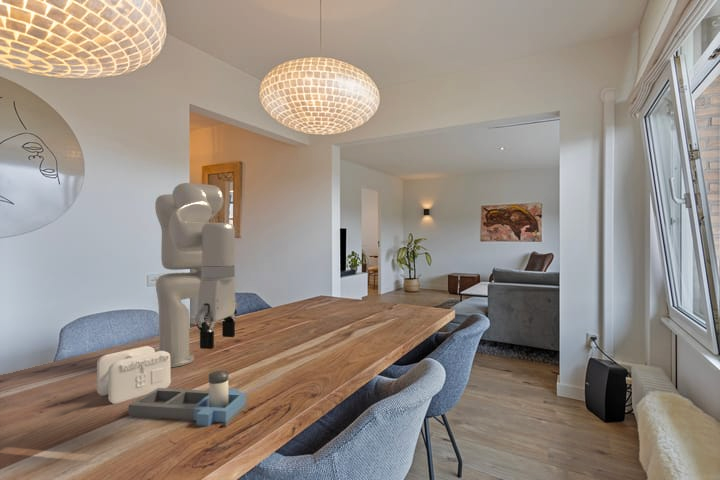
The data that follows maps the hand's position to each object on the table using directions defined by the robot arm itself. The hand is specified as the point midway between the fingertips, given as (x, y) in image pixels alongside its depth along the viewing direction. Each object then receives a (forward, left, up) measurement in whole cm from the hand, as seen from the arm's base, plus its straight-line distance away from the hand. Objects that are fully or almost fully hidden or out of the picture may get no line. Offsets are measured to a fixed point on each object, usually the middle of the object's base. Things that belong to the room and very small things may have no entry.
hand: (218, 342), depth 87 cm
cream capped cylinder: (0, 0, -17) cm, 17 cm away
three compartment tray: (-8, 0, -18) cm, 19 cm away
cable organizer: (-30, +8, -18) cm, 35 cm away
